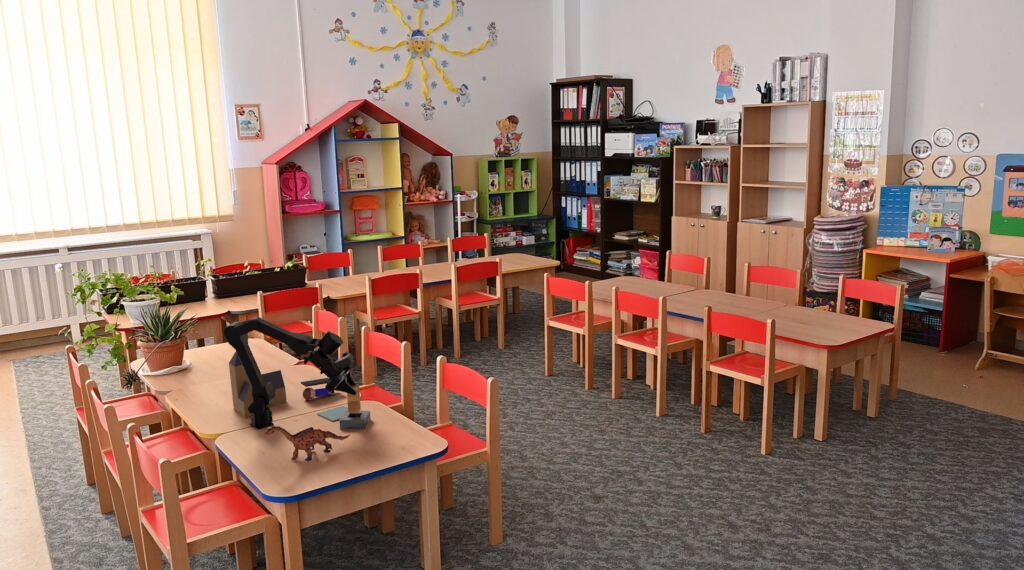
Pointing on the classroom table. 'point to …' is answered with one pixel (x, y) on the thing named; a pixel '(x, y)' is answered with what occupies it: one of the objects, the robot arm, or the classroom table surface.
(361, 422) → the socket block
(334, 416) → the pad
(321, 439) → the toy dinosaur
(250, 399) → the toy building blocks
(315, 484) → the classroom table surface
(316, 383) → the figurine character
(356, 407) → the peg
